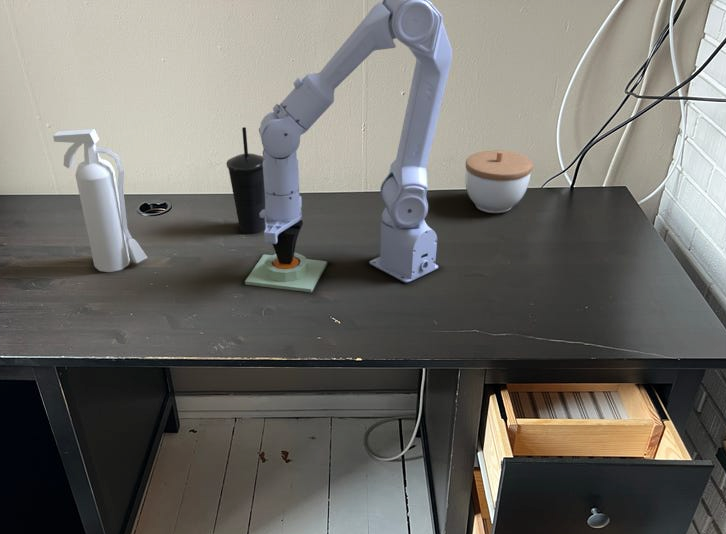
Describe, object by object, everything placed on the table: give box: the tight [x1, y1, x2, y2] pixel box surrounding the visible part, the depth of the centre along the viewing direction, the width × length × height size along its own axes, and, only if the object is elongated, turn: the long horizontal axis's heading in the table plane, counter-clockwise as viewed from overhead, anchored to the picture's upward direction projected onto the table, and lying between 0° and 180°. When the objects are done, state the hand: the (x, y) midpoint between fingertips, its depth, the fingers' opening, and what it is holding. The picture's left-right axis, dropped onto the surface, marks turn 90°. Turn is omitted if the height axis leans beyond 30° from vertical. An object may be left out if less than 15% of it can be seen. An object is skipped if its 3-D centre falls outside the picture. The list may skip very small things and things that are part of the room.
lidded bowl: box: [464, 149, 534, 214], centre depth 145 cm, size 13×13×11 cm
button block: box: [244, 252, 328, 293], centre depth 129 cm, size 12×10×2 cm
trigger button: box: [273, 257, 299, 269], centre depth 128 cm, size 4×4×2 cm
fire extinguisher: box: [52, 128, 149, 273], centre depth 128 cm, size 7×12×25 cm, turn 77°
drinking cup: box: [225, 126, 266, 235], centre depth 139 cm, size 8×8×20 cm
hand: (285, 262), depth 128 cm, fingers closed, pressing on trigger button
